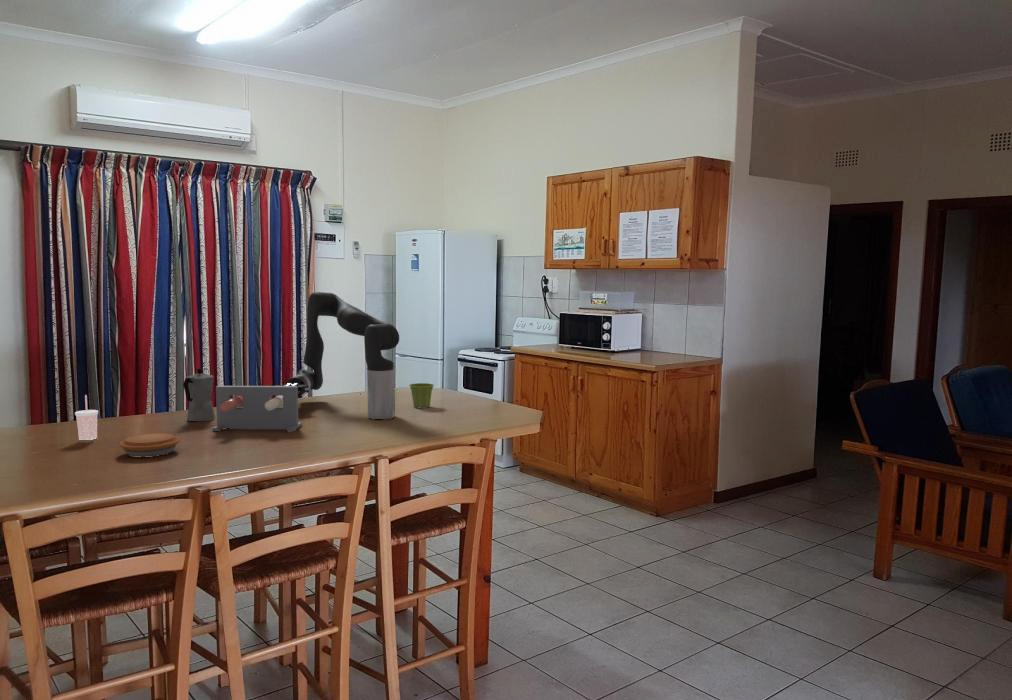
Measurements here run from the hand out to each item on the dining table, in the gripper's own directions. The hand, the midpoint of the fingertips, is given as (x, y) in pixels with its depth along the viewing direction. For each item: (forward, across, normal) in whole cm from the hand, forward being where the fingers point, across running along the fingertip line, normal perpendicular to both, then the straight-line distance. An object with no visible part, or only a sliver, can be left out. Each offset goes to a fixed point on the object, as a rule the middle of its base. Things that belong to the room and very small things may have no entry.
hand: (285, 392), depth 262 cm
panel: (+20, -3, +9) cm, 22 cm away
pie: (+54, -23, +10) cm, 60 cm away
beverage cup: (+39, -49, +9) cm, 63 cm away
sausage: (+24, -10, +2) cm, 26 cm away
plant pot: (-21, +46, +9) cm, 51 cm away
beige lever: (+21, +3, +2) cm, 21 cm away
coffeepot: (+6, -28, +9) cm, 30 cm away
